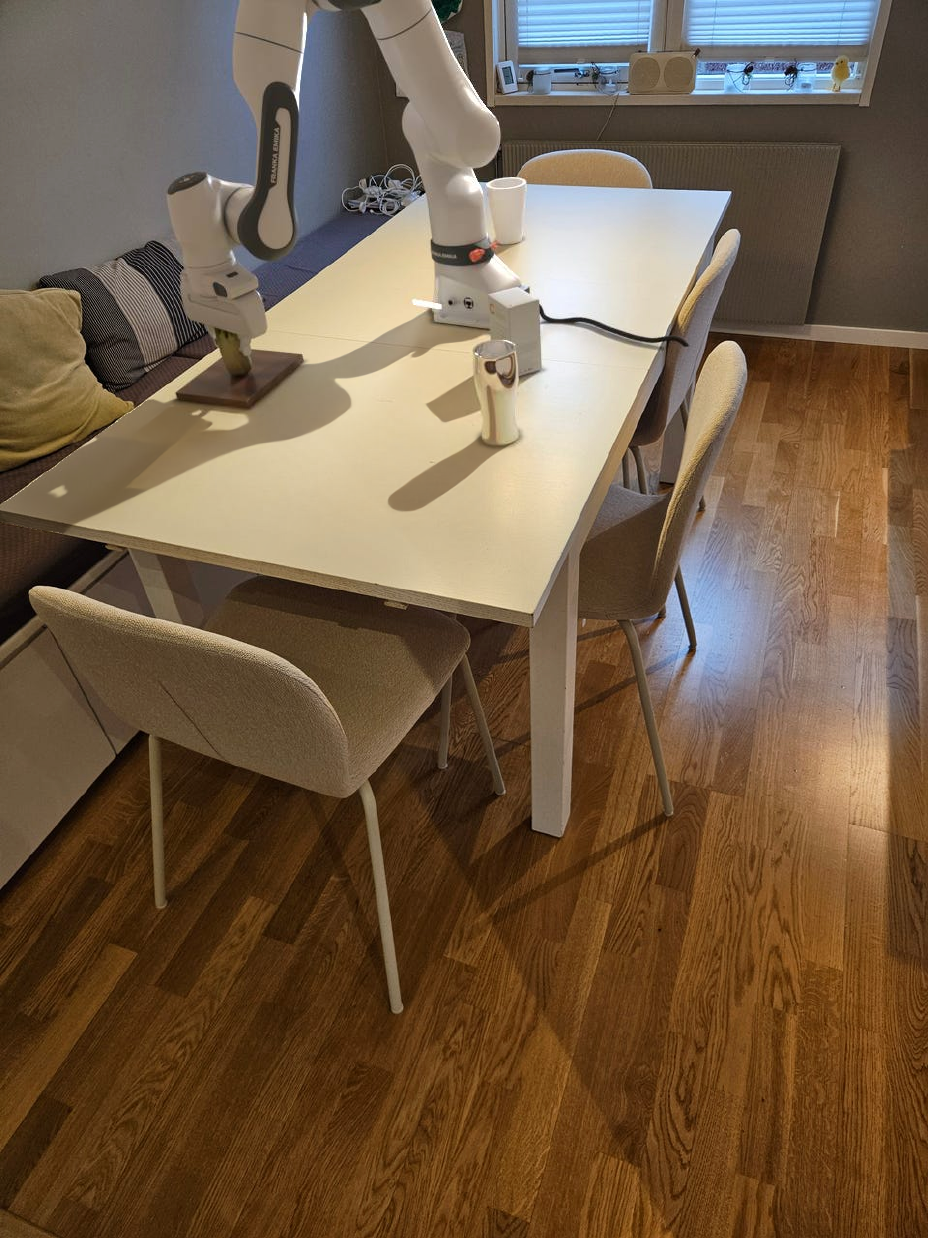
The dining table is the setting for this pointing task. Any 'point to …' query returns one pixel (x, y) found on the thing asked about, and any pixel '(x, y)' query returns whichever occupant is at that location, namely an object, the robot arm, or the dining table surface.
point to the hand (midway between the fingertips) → (233, 350)
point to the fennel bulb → (232, 353)
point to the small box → (517, 325)
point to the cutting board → (240, 380)
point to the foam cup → (507, 208)
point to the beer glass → (497, 390)
